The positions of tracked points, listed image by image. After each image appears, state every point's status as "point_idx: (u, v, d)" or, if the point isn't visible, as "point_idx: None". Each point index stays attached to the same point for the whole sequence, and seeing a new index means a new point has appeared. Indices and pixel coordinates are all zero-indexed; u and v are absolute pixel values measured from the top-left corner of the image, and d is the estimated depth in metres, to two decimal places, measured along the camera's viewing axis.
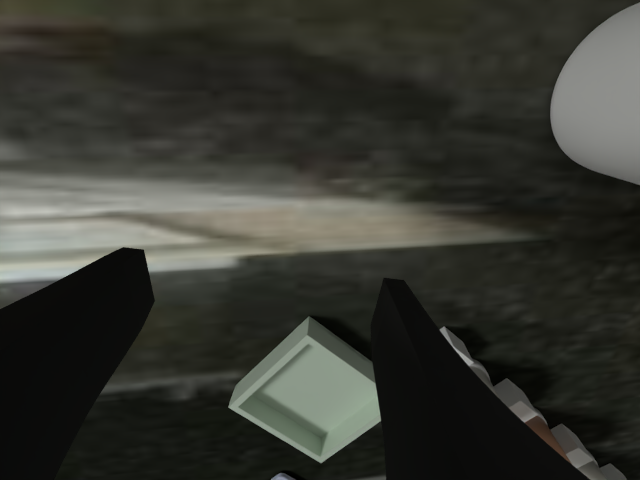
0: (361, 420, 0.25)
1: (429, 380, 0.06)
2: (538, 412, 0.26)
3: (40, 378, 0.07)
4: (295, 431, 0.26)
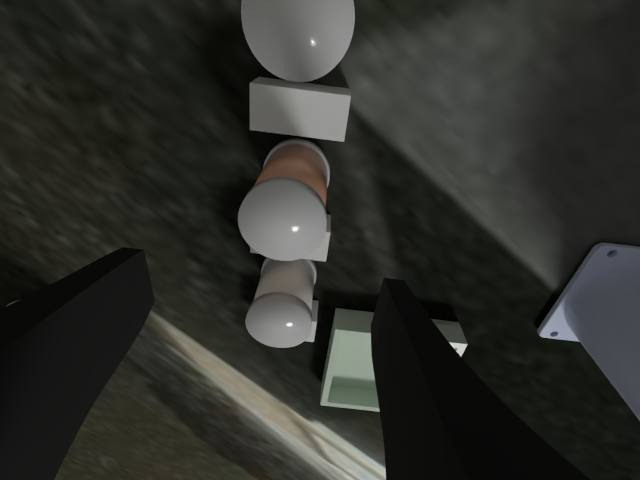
0: None
1: (429, 380, 0.06)
2: None
3: (40, 378, 0.07)
4: None
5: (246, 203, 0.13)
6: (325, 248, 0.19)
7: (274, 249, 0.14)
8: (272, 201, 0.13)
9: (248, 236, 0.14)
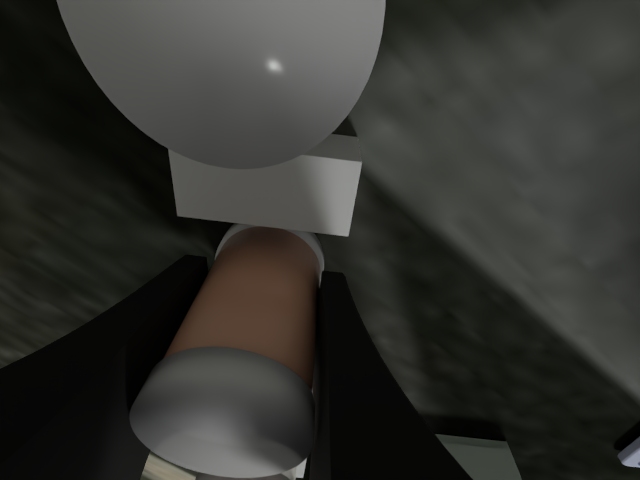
0: None
1: (332, 369, 0.06)
2: None
3: (131, 388, 0.07)
4: None
5: (142, 406, 0.06)
6: None
7: (212, 465, 0.07)
8: (195, 404, 0.06)
9: (157, 447, 0.07)
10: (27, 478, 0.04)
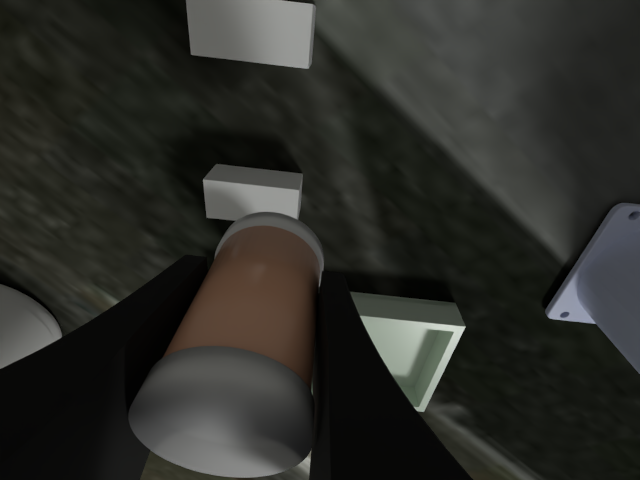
0: None
1: (331, 369, 0.06)
2: None
3: (132, 387, 0.07)
4: (437, 349, 0.22)
5: (141, 405, 0.06)
6: (294, 210, 0.16)
7: (212, 464, 0.07)
8: (195, 403, 0.06)
9: (156, 447, 0.07)
10: (27, 478, 0.04)
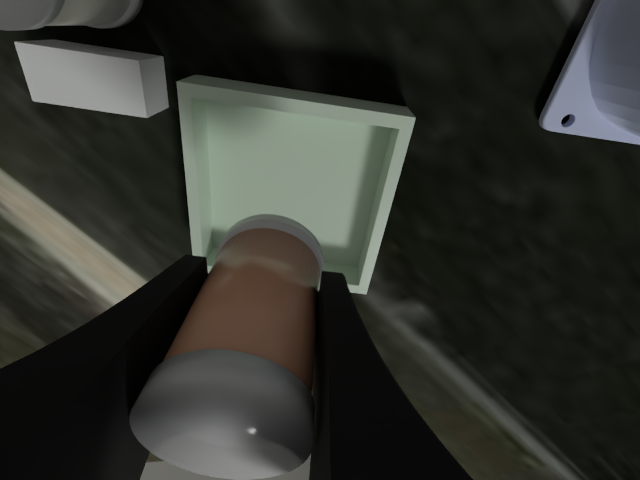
0: None
1: (332, 369, 0.06)
2: None
3: (132, 388, 0.07)
4: (381, 183, 0.15)
5: (142, 408, 0.06)
6: None
7: (212, 466, 0.07)
8: (195, 407, 0.06)
9: (157, 449, 0.07)
10: (27, 478, 0.04)
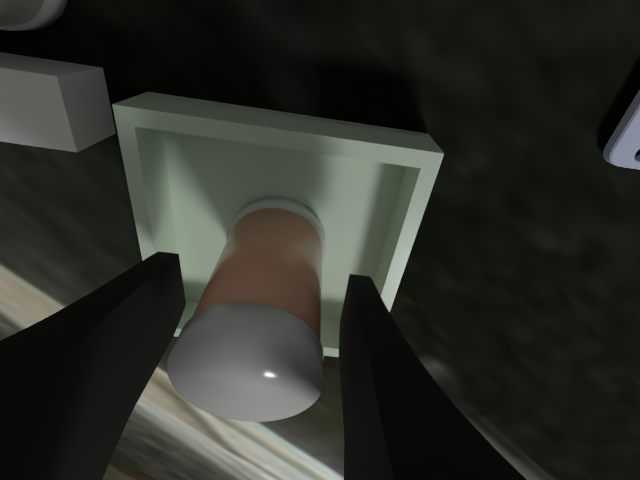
0: None
1: (375, 374, 0.06)
2: None
3: (91, 383, 0.07)
4: (393, 232, 0.12)
5: (179, 352, 0.07)
6: None
7: (236, 409, 0.08)
8: (225, 349, 0.07)
9: (189, 393, 0.08)
10: None
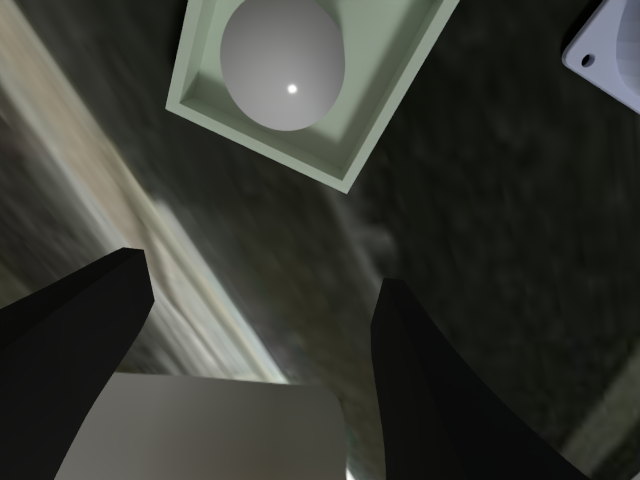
0: None
1: (429, 380, 0.06)
2: None
3: (40, 378, 0.07)
4: (401, 67, 0.14)
5: (242, 11, 0.09)
6: None
7: (260, 104, 0.10)
8: (280, 20, 0.09)
9: (228, 71, 0.10)
10: None
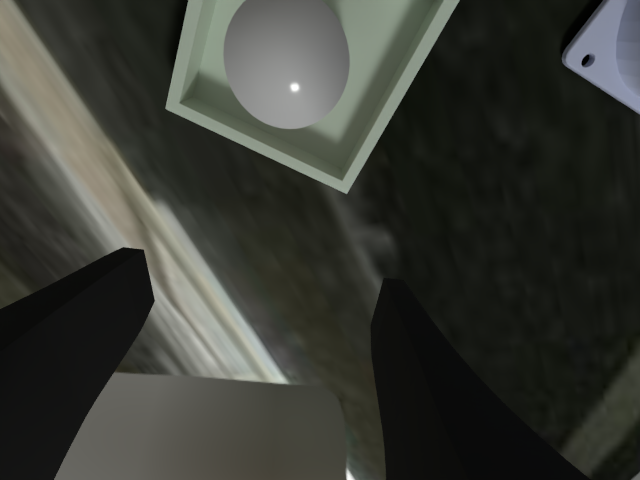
0: None
1: (429, 380, 0.06)
2: None
3: (40, 378, 0.07)
4: (401, 67, 0.14)
5: (246, 9, 0.09)
6: None
7: (264, 102, 0.10)
8: (284, 17, 0.09)
9: (232, 69, 0.10)
10: None
